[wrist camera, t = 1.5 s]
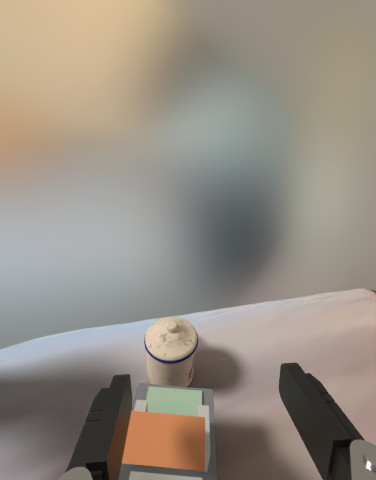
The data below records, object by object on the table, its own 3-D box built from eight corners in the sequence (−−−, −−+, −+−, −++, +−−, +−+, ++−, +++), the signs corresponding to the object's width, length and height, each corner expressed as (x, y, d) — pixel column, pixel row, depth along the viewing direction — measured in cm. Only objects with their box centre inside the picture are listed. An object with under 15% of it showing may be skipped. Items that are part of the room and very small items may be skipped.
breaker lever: (193, 450, 22) (204, 473, 11) (144, 445, 22) (107, 464, 11) (194, 420, 24) (205, 414, 13) (148, 416, 24) (120, 407, 13)
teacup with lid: (200, 392, 36) (205, 343, 32) (146, 402, 35) (144, 352, 30) (186, 335, 47) (189, 293, 43) (145, 341, 45) (143, 297, 41)
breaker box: (211, 573, 21) (226, 526, 16) (111, 562, 21) (94, 512, 16) (207, 427, 32) (215, 371, 27) (141, 421, 32) (137, 364, 27)
